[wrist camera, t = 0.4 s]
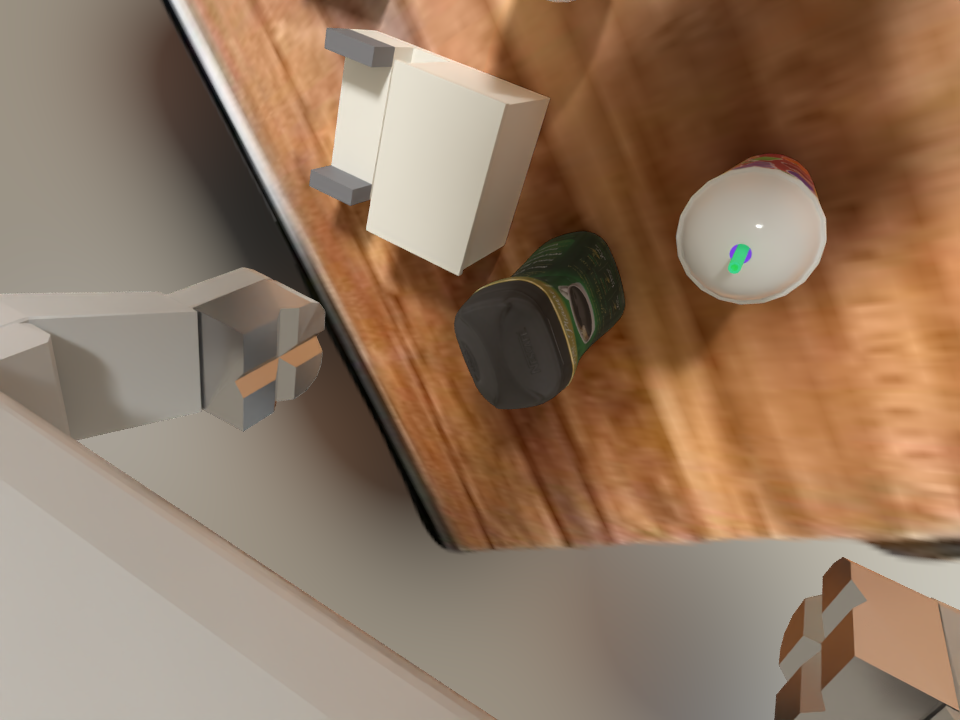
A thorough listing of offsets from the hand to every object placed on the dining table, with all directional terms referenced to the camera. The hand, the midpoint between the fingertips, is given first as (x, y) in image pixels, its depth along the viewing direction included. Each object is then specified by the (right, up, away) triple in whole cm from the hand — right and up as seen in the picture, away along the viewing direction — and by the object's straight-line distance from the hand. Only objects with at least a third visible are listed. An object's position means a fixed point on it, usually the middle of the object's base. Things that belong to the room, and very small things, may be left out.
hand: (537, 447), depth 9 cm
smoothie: (+22, +14, +39) cm, 47 cm away
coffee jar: (+9, +9, +49) cm, 51 cm away
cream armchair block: (-4, +22, +50) cm, 55 cm away
